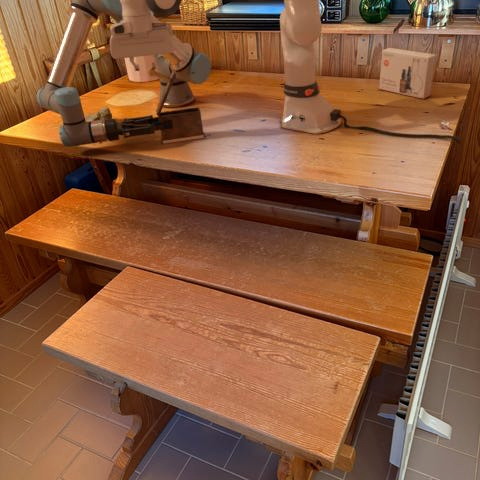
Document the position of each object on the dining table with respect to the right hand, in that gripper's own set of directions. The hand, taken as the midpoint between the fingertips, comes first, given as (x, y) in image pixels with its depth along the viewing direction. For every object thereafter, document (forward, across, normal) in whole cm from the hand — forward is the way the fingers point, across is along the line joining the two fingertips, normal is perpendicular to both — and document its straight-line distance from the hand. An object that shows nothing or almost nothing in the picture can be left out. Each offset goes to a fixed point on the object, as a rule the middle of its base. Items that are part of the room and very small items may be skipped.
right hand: (145, 69), depth 153 cm
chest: (+25, -9, 0) cm, 27 cm away
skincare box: (+23, -101, -14) cm, 104 cm away
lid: (+9, -6, 0) cm, 10 cm away
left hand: (+19, -6, 0) cm, 20 cm away
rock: (+26, +23, -30) cm, 46 cm away
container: (+25, +3, -93) cm, 96 cm away
